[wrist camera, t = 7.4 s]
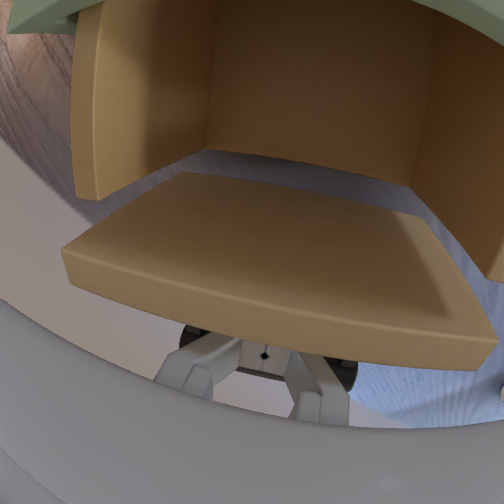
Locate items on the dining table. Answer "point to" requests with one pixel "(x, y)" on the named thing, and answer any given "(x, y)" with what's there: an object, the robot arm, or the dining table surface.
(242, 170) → the dining table surface
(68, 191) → the dining table surface
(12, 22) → the cabinet
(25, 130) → the dining table surface
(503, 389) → the jar
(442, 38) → the drawer
